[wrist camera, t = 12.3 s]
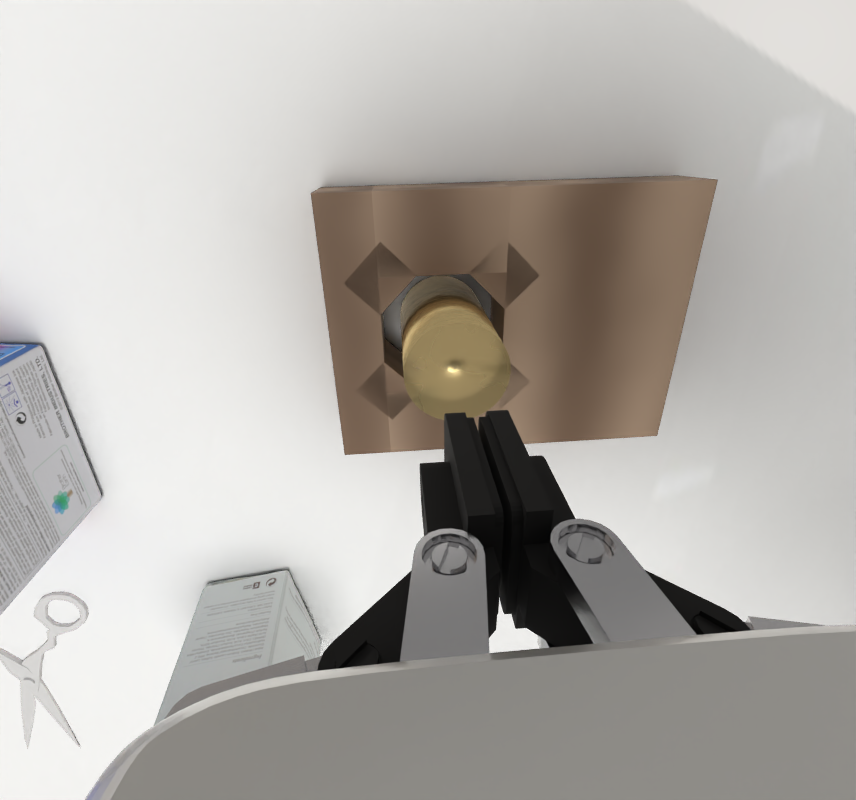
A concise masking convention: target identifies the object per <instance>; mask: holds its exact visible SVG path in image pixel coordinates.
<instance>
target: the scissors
mask: <svg viewBox="0 0 856 800" xmlns="http://www.w3.org/2000/svg"><path fill="white" fill-rule="evenodd" d="M52 600H64V601H69V602H71V603H73V604H74V605H75V606H76V607H77V608H78V609H79V611H80V617H81V618H79V619H78V620H77V621H76V622H74V623H71V624H61V623H58V622H55V621H54V620H53V619H52V618H51V617H50V616H49V615H48V604H49V602H50V601H52ZM88 614H89V613H88V608H87V605H86V604H85V602H84V601H82V600H81V599H80V598H78V597H77V596H75V595H73V594H71V593H67V592H52V593H50V594H47V595H45V596H43V597H42V598H41V600H40V601H39V603H38V604H37V606H36V607H35V612H34V617H35V618H36V619H37V620H38V621H40V622H41V623H42V624H43V625H44V626H46V627H47V628H48V629H49V630H48V631H47V638H48V640H47V641H46V642H45V643H44V644H43V645H42V646H41V647H40V648H39V649H38V650H36V651H35V652H33V653H31V654H30V655H29V656H28V657H26V658H25V659H24V661H23V660H22V659H20V658H18V657H16V656H14V655H12V654H11V653H9V652H7V651H5V650H3V649H1V648H0V660H1V662H2V663H3V665H4V666H5V667H6V669H7V670H8V671H9V673H11V674H12V675H14V676H15V677H16V678H18V679H19V680H20V686H21V711H22V719H23V727H24V738H25V742H26V745H27V749H28V744H29V740H30V735H31V731H32V726H33V720H34V714H35V707H36V701H35V698H34V696H35V697H36V698H37V699H38V701H39V702H40V703H41V704H42V705H43V706H44V708H45V709H46V710H47V711H48V712H49V713H50V715H51V716H52V717H53V718H54V719H55V720H56V721H57V723H58V724H59V725H60V726H61V727H62V728H63V729H64V730H65V732H66V733H67V734H68V735H69V736H70V737H71V738H72V739H73V741H74V742H75V743H76V744H77V745H78V746H79V744H78V742H77V740H76V738H75V736H74V734H73V732H72V730H71V728H70V727H69V725H68V723H67V721H66V719H65V717H64V715H63V713H62V711H61V710H60V708H59V706H58V704H57V703H56V701H55V700H54V698H53V696H52V695H51V693H50V691H49V690H48V688H47V687H46V685H45V683H44V682H43V681H42V679H41V676H42V662H43V657H44V653H45V652H46V651H48V650H50V649H53V648H54V647H55V646H56V636H58V635H61V634H63V633H66V632H71V631H74V630H76V629H77V628H79V627H80V626H81V625H82V624H83V623H84V622H85V621H86V619H87V617H88ZM79 747H80V746H79Z"/></svg>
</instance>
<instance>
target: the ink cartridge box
mask: <svg viewBox="0 0 856 800" xmlns="http://www.w3.org/2000/svg"><path fill="white" fill-rule="evenodd" d="M101 498H102V496H101V493H100V491H99V488H98V486H97V483H96V481H95V478H94V476H93V473H92V471H91V468H90V466H89V464H88V461H87V459H86V456H85V454H84V451H83V449H82V446H81V443H80V441H79V438H78V436H77V433H76V431H75V428H74V426H73V423H72V421H71V418H70V416H69V413H68V411H67V408H66V405H65V403H64V400H63V398H62V395H61V393H60V390H59V388H58V385H57V383H56V381H55V378H54V376H53V373H52V371H51V368H50V366H49V363H48V361H47V358H46V355H45V353H44V350H43V348H42V347H41V346H40V345H31V344H4V343H0V615H1V614H2V612H3V611H4V610H5V609H6V608H7V607H8V606H9V605H10V603H11V602H12V601H13V600H14V599H15V598H16V596H17V595H18V594H19V593H20V592H21V591H22V590H23V588H24V587H25V586H26V585H27V584H28V583H29V582H30V580H31V579H32V578H33V577H34V576H35V574H36V573H37V572H38V571H39V570H40V569H41V568H42V566H43V565H44V564H45V563H46V562H47V561H48V559H49V558H50V557H51V556H52V555H53V554H54V553H55V551H56V550H57V549H58V548H59V547H60V546H61V545H62V543H63V542H64V541H65V540H66V539H67V538H68V537H69V535H70V534H71V533H72V532H73V531H74V530H75V528H76V527H77V526H78V525H79V524H80V523H81V522H82V520H83V519H84V518H85V517H86V516H87V515H88V513H89V512H90V511H91V510H92V509H93V508H94V507H95V506H96V505H97V503H98V502H99V501H100V500H101Z"/></svg>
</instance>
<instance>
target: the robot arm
mask: <svg viewBox="0 0 856 800" xmlns="http://www.w3.org/2000/svg"><path fill="white" fill-rule="evenodd" d="M420 486H421V504H422V517H423V528H424V537H422V539H421V540H420V541H419V542H418V543H417V545H416V548H415V551H414V556H413V564H412V571H411V572H409V573H408V574H407V575H406V576H405V577H404V578H403V579H402V580H401V581H400V582H398V583H397V584H396V585H395V586H394V587H393V588H392V589H391V590H390V591H388V592H387V593H386V594H385V595H384V596H383V597H382V598H381V599H380V600H379V601H377V602H376V603H375V604H374V605H373V606H372V607H371V608H370V609H369V610H367V611H366V612H365V613H364V614H363V615H362V616H361V617H360V618H359V619H358V620H356V621H355V622H354V623H353V624H352V625H351V626H350V627H349V628H348V629H347V630H345V631H344V632H343V633H342V634H341V635H340V636H339V637H338V638H337V639H335V640H334V641H333V642H332V643H331V644H330V646H329V647H328V648H327V649H326V650H325V652H324V653H323V655H322V656H319V657H316V658H313V659H310V660H307V661H306V660H305V656H304V655H303V656H300V657H297V658H293V659H290V660H287V661H283V662H280V663H277V664H274V665H270V666H267V667H264V668H261V669H257V670H254V671H251V672H248V673H244V674H241V675H238V676H235V677H231V678H228V679H225V680H222V681H218V682H215V683H212V684H208V685H205V686H202V687H200V688H198V689H196V690H194V691H192V692H189V693H188V694H186V695H185V696H184V697H183V698H182V699H180V700H179V701H178V702H177V703H176V704H175V705H174V706H173V707H172V709H171V710H170V712H169V713H168V714H167V716H166V717H165V719H164V720H162V721H161V722H159V723H157V724H156V725H154V726H153V727H151V728H150V729H148V730H147V731H145V732H144V733H142V734H141V735H140V736H139V737H137V738H136V739H135V740H134V741H133V742H131V743H130V744H129V745H128V746H127V747H126V748H125V749H124V750H123V751H121V752H120V753H119V755H118V756H117V757H116V758H115V759H114V760H113V761H112V763H111V764H110V765H109V766H108V767H107V768H106V770H105V771H104V772H103V773H102V775H101V776H100V778H99V779H98V781H97V782H96V784H95V785H94V786H93V788H92V789H91V791H90V792H89V794H88V795H87V797H86V798H85V800H856V625H818V624H809V623H800V622H792V621H783V620H775V619H766V618H758V617H749V616H748V618H747V621H746V622H743V621H742V620H741V619H740V618H738V617H737V616H736V615H734V614H732V613H731V612H729V611H727V610H726V609H724V608H722V607H720V606H718V605H716V604H714V603H712V602H709V601H707V600H705V599H703V598H701V597H699V596H697V595H695V594H693V593H691V592H689V591H687V590H685V589H683V588H681V587H679V586H677V585H675V584H672V583H670V582H668V581H666V580H664V579H662V578H660V577H658V576H656V575H654V574H652V573H650V572H648V571H646V570H644V569H643V567H642V566H641V565H640V564H639V563H638V561H637V560H636V559H635V558H634V556H633V555H632V554H631V553H630V551H629V550H628V549H627V548H626V546H625V545H624V544H623V543H622V541H621V540H620V539H619V538H618V537H617V536H616V535H615V534H614V533H613V532H612V531H611V530H610V529H608V528H607V527H605V526H603V525H602V524H599V523H596V522H594V521H591V520H584V519H575V517H574V515H573V513H572V511H571V509H570V507H569V505H568V503H567V501H566V499H565V497H564V495H563V493H562V491H561V489H560V487H559V485H558V483H557V482H556V480H555V478H554V476H553V474H552V472H551V470H550V468H549V466H548V464H547V462H546V460H545V458H544V457H543V456H529V455H528V452H527V450H526V448H525V446H524V444H523V442H522V439H521V437H520V435H519V433H518V431H517V429H516V426H515V424H514V422H513V420H512V418H511V416H510V413H509V411H508V410H495V411H487V412H486V415H485V416H484V417H479V420H478V429H477V426H476V423H475V420H474V417H468V418H467V416H466V413H465V412H462V413H445V414H444V462H436V463H421V464H420ZM499 597H500V601H501V605H502V609H503V612H504V614H512V617H513V621H514V625H515V628H516V629H518V628H527V629H529V630H531V631H532V632H534V633H535V634H537V635H538V645H539V648H540V649H531V650H520V651H509V652H498V653H489V637H490V636H491V635H492V634H493V632H494V631H495V630H496V622H497V614H498V607H499Z"/></svg>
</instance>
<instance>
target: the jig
mask: <svg viewBox="0 0 856 800" xmlns="http://www.w3.org/2000/svg"><path fill="white" fill-rule="evenodd" d="M717 181H718V180H716V179H706V178H696V177H686V176H653V177H623V178H592V179H562V180H531V181H501V182H470V183H440V184H409V185H379V186H348V187H321V188H319V189H317V190H316V191H314V192H312V193H311V198H312V206H313V214H314V221H315V229H316V237H317V245H318V252H319V260H320V268H321V275H322V283H323V291H324V299H325V306H326V314H327V322H328V329H329V337H330V345H331V352H332V360H333V368H334V376H335V383H336V391H337V399H338V406H339V414H340V422H341V430H342V437H343V445H344V453H345V455H350V454H367V453H383V452H399V451H416V450H432V449H444V420H442V419H438V418H435V417H432V416H430V415H428V414H426V413H425V412H423V411H422V410H420V409H419V408H418V407H417V406H416V405H415V404H414V402H413V401H412V400H411V398H410V397H409V395H408V393H407V390H406V387H405V383H404V372H403V355H402V353H401V352H400V351H399V350H398V349H396V348H395V347H394V346H393V345H392V344H390V343H389V342H388V341H387V340H386V339H385V334H384V320H383V312H384V311H385V309H386V308H387V307H388V306H389V305H390V304H391V303H392V302H393V301H394V300H395V299H396V298H397V296H398V295H399V294H400V293H401V292H402V291H403V290H404V289H405V288H406V287H407V286H408V284H409V283H410V282H411V281H412V280H413V279H414V278H415V277H416V276H432V275H456V274H470V275H471V276H472V277H473V278H474V279H475V280H476V281H477V282H478V283H479V284H480V285H481V286H482V287H483V288H484V289H485V290H486V291H487V292H488V293H489V294H490V295H491V296H492V298H491V323H492V325H493V327H494V329H495V330H496V332H497V334H498V336H499V337H500V339H501V341H502V343H503V344H504V346H505V348H506V350H507V352H508V355H509V358H510V364H511V374H510V380H509V383H508V386H507V388H506V391H505V392H504V394H503V396H502V397H501V398H500V400H499V401H498V402H497V403H496V404H495V405H494V406H493V407H492V408H490V409H489V410H488V411H495V410H508V411H509V413H510V416H511V418H512V420H513V422H514V424H515V426H516V429H517V431H518V433H519V435H520V437H521V439H522V442H523V444H530V443H546V442H563V441H579V440H595V439H611V438H628V437H644V436H657V434H658V430H659V426H660V421H661V417H662V413H663V409H664V404H665V400H666V396H667V392H668V388H669V383H670V379H671V375H672V371H673V366H674V362H675V358H676V354H677V350H678V345H679V341H680V337H681V333H682V328H683V324H684V320H685V316H686V312H687V307H688V303H689V299H690V295H691V290H692V286H693V282H694V278H695V274H696V269H697V265H698V261H699V257H700V252H701V248H702V244H703V240H704V236H705V231H706V227H707V223H708V219H709V214H710V210H711V206H712V202H713V198H714V193H715V189H716V185H717ZM486 412H487V411H486ZM486 412H484V413H483V414H481V415H479V416H477V417H474V420H475V423H476V426H477V429H478V420H479V417H484V416H485V415H486Z"/></svg>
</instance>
